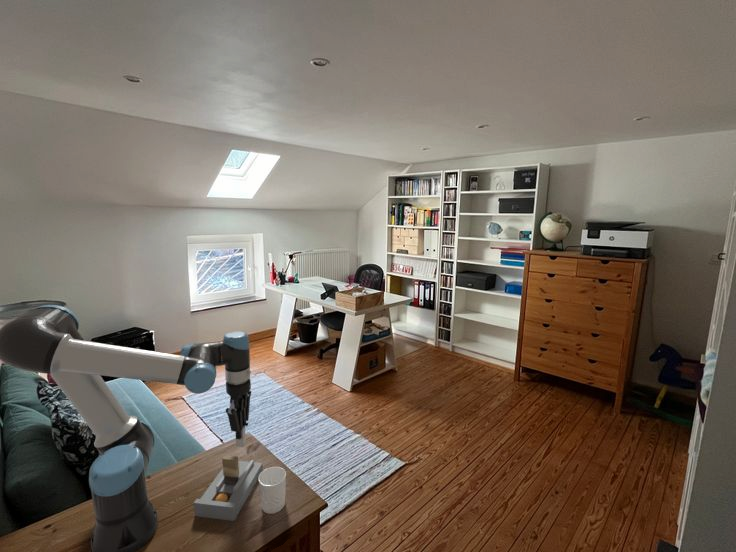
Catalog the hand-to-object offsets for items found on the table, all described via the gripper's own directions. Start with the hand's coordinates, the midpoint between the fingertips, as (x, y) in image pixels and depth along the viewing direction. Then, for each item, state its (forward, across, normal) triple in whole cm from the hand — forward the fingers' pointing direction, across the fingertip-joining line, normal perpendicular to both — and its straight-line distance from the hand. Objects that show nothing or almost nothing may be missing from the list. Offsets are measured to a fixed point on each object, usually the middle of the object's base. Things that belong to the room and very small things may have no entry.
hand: (241, 445), depth 120 cm
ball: (+8, -15, -1) cm, 17 cm away
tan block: (+7, -9, -1) cm, 11 cm away
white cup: (+10, -12, -16) cm, 22 cm away
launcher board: (+10, -9, -1) cm, 13 cm away
